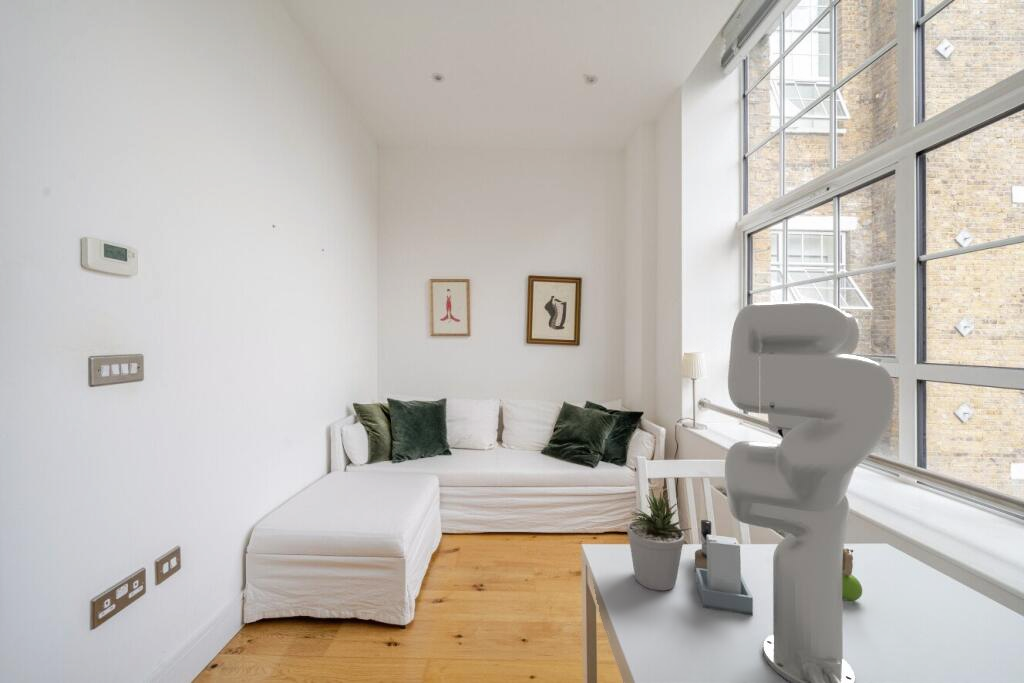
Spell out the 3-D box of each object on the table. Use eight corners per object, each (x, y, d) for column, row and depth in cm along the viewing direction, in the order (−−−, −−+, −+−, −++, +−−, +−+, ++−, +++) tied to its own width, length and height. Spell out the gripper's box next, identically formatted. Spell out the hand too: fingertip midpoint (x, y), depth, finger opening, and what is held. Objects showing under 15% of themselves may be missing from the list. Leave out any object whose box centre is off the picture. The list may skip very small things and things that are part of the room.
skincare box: (736, 593, 90) (736, 536, 90) (741, 605, 85) (741, 546, 85) (705, 588, 91) (705, 532, 92) (709, 599, 87) (709, 541, 87)
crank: (727, 562, 95) (727, 540, 95) (704, 559, 96) (704, 537, 97) (715, 540, 106) (715, 520, 106) (694, 538, 107) (694, 518, 107)
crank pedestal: (736, 585, 93) (736, 568, 93) (697, 580, 95) (697, 562, 96) (727, 566, 102) (727, 550, 102) (692, 561, 104) (692, 545, 104)
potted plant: (699, 597, 89) (699, 504, 89) (635, 596, 89) (635, 502, 89) (677, 566, 101) (677, 484, 102) (620, 565, 102) (621, 483, 102)
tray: (752, 615, 83) (752, 597, 83) (702, 607, 85) (702, 590, 85) (740, 589, 92) (740, 573, 92) (695, 583, 94) (695, 567, 94)
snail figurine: (833, 604, 87) (833, 546, 87) (827, 588, 93) (827, 534, 93) (867, 612, 84) (866, 552, 85) (858, 595, 90) (858, 540, 90)
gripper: (844, 379, 85) (845, 468, 85) (769, 375, 98) (770, 452, 98) (826, 380, 82) (826, 473, 81) (751, 375, 95) (751, 456, 94)
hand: (795, 461), depth 90 cm, fingers closed
